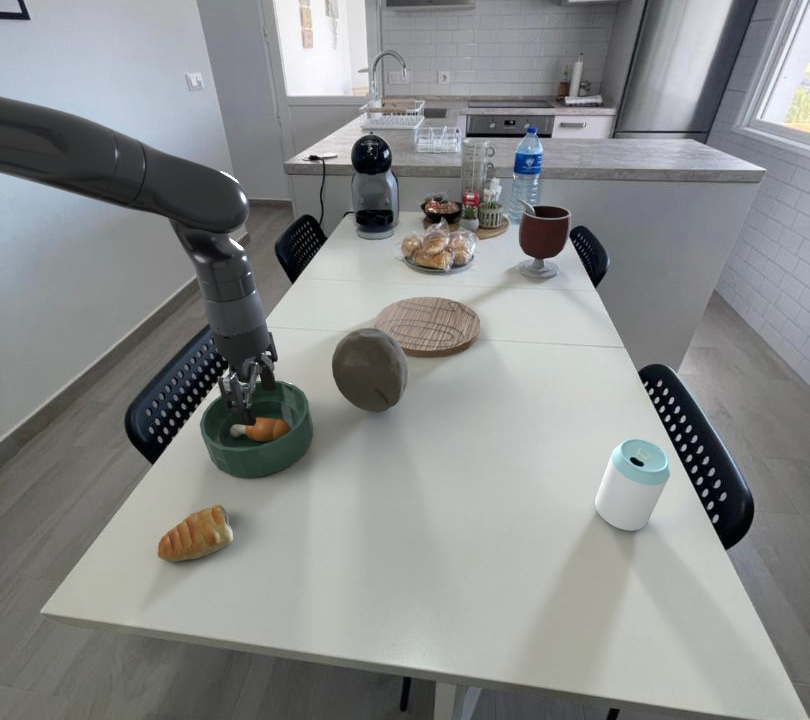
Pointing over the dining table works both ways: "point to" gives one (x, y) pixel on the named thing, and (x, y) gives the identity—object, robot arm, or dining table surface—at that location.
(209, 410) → the green faceted bowl
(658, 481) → the can
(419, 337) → the trivet
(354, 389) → the grey clay lump
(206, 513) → the pastry
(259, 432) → the drumstick
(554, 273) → the mate gourd
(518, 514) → the dining table surface
